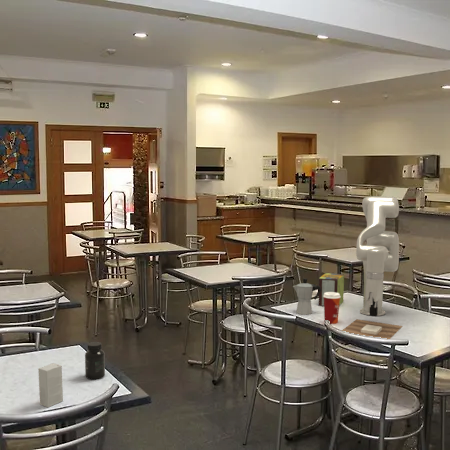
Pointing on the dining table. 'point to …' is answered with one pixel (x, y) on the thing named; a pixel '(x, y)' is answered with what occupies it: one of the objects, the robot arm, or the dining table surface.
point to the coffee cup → (331, 306)
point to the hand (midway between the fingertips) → (373, 315)
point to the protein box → (331, 286)
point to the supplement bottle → (94, 361)
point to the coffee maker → (305, 296)
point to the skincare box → (50, 385)
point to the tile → (371, 329)
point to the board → (386, 331)
